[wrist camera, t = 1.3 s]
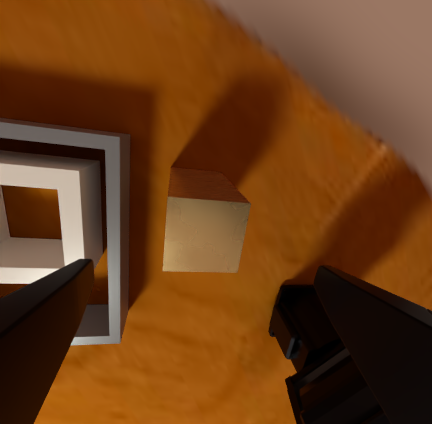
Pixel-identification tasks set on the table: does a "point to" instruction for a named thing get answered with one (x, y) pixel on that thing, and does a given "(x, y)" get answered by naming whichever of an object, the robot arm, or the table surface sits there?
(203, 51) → the table surface
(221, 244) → the peg
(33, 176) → the walled frame
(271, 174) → the table surface
